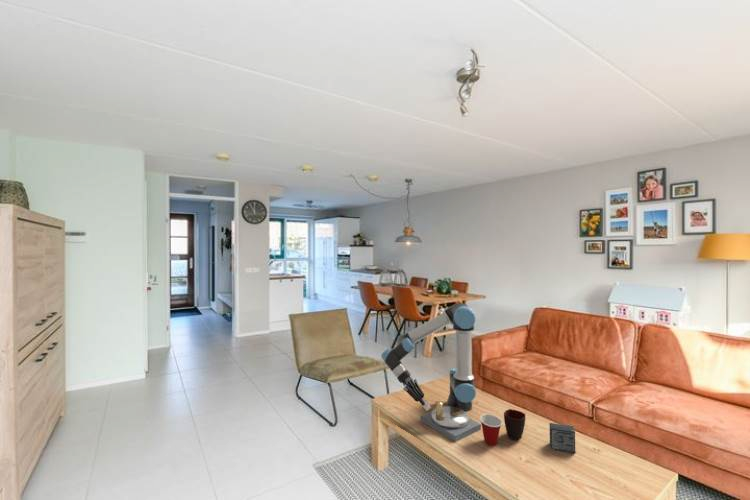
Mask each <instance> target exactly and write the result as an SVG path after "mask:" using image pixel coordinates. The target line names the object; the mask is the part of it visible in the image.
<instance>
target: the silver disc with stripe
mask: <svg viewBox="0 0 750 500" xmlns="http://www.w3.org/2000/svg"><path fill="white" fill-rule="evenodd" d="M431 411H432V421H433V422H434V423H435V424H437V425H438V426H441V427H444V428H449V429H458V428H462V427H465V426H466V425H467V424H468V422H469V418H470V416H469V414H468V413H467V411H466V412H465V411H463V410H462V409H459V408H456V407H450V406H447V405H444V406H443V401H440V400H436V401H435V408H434V409H432V410H431Z"/></svg>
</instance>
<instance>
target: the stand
mask: <svg viewBox="0 0 750 500" xmlns="http://www.w3.org/2000/svg"><path fill="white" fill-rule="evenodd" d="M432 411H433V410H431V411H429V412H428V411H427V412H426V413H424V414H421V415H420V418H419V419H420V422H421V423H423V424H425V425H426V426H428V427H430V428H432V429H433V430H435V431H437V432H438V433H440V434H442V435H444V436H445V437H447V438H449V439H450V440H452V441H453V442H455V443H456V442H458V441H461V440H462V439H465V438H467V437H469V436H470V435H473V434H475V433H477V432H479V431H481V429H482V424H481V422H478V421H476V420H474V419H472V418H471V417H469V422H468V424H467V425H466V426H465V427H462V428H458V429H449V428H444V427H441V426H438V425H437V424H435V423H434V422H433V421H432Z"/></svg>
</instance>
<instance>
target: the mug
mask: <svg viewBox="0 0 750 500" xmlns="http://www.w3.org/2000/svg"><path fill="white" fill-rule="evenodd" d="M503 420H504V425H505V426H504V427H505V431H506V434H507V436H508V438H509V439H511V440H514V441H517V442H518V441H520V440H521V439H522V436H523V434H524V430H525V429H524V428H525V424H526V413H524V412H522V411H520V410H516V409H513V408H512V409H511V408H510V409H507V410H505V411H504V412H503Z"/></svg>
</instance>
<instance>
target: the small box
mask: <svg viewBox="0 0 750 500" xmlns="http://www.w3.org/2000/svg"><path fill="white" fill-rule="evenodd" d="M549 446H550V450H551V451H553V450H554V451H559V452H565V453H570V452H571V454H576V431H575V428H574V426H573V425H569V424H561V423H554V422H553V423H552V422H549Z"/></svg>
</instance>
